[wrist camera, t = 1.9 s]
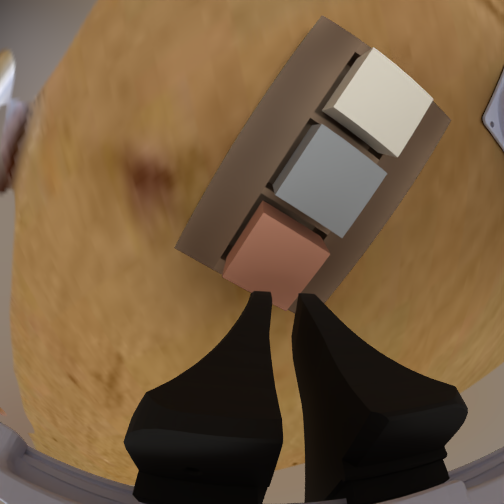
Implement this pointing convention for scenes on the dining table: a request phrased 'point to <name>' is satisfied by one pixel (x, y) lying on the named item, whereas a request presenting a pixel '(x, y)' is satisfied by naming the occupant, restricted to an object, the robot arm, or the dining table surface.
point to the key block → (282, 148)
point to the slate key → (328, 179)
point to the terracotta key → (275, 256)
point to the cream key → (379, 103)
